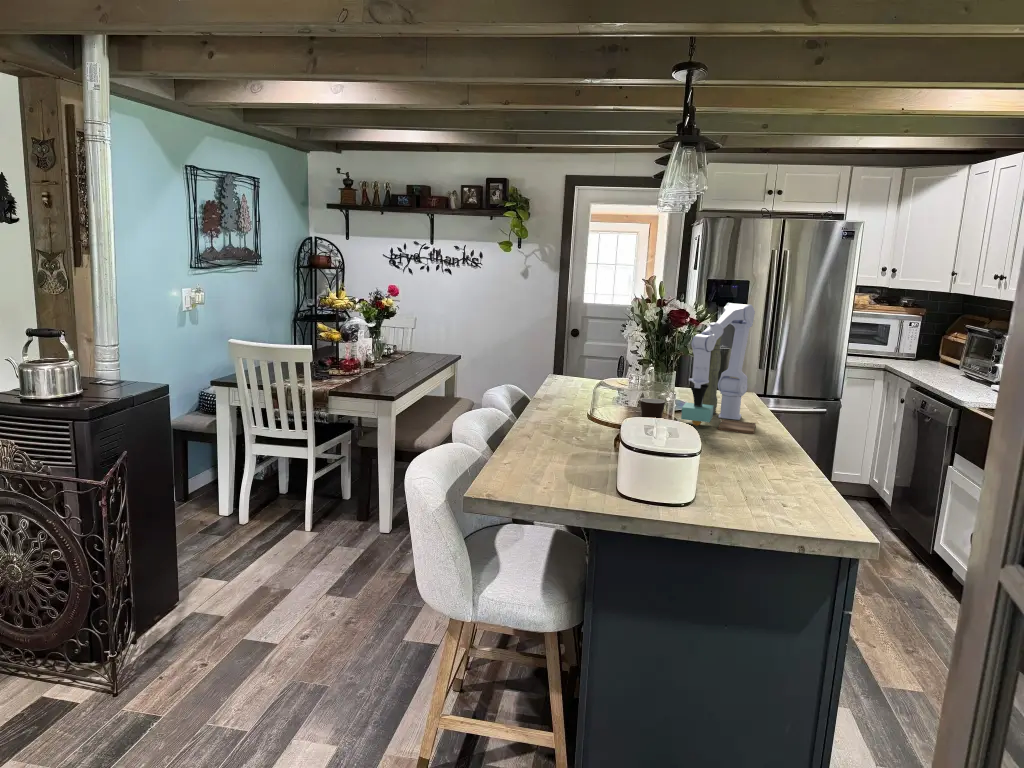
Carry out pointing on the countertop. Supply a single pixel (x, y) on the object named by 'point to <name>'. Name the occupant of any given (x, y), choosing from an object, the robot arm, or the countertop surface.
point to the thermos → (713, 376)
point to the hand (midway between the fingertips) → (698, 404)
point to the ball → (696, 422)
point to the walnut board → (737, 426)
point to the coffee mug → (652, 407)
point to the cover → (697, 412)
